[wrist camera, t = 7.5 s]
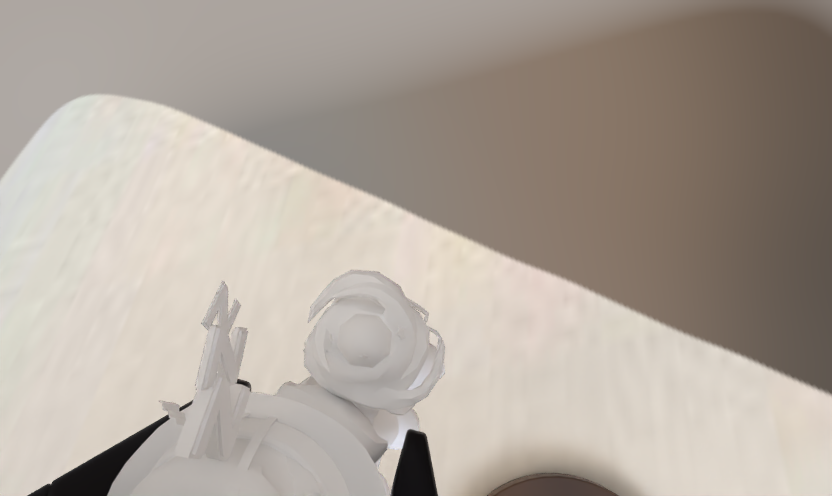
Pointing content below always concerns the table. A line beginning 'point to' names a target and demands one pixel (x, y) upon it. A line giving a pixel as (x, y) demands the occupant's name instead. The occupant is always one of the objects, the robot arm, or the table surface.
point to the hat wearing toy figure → (298, 404)
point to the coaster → (551, 486)
